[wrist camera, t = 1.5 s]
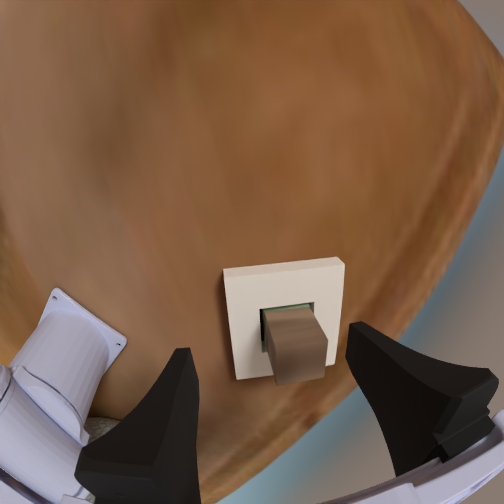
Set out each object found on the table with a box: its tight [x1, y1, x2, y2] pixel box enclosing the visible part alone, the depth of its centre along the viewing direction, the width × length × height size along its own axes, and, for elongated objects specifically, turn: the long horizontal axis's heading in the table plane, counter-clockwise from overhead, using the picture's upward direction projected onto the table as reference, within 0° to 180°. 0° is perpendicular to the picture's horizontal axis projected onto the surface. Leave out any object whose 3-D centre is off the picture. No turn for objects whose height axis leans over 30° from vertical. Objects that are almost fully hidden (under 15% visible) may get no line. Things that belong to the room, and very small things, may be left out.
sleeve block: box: [223, 257, 345, 380], centre depth 23 cm, size 10×9×2 cm
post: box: [262, 303, 328, 386], centre depth 21 cm, size 4×4×6 cm
